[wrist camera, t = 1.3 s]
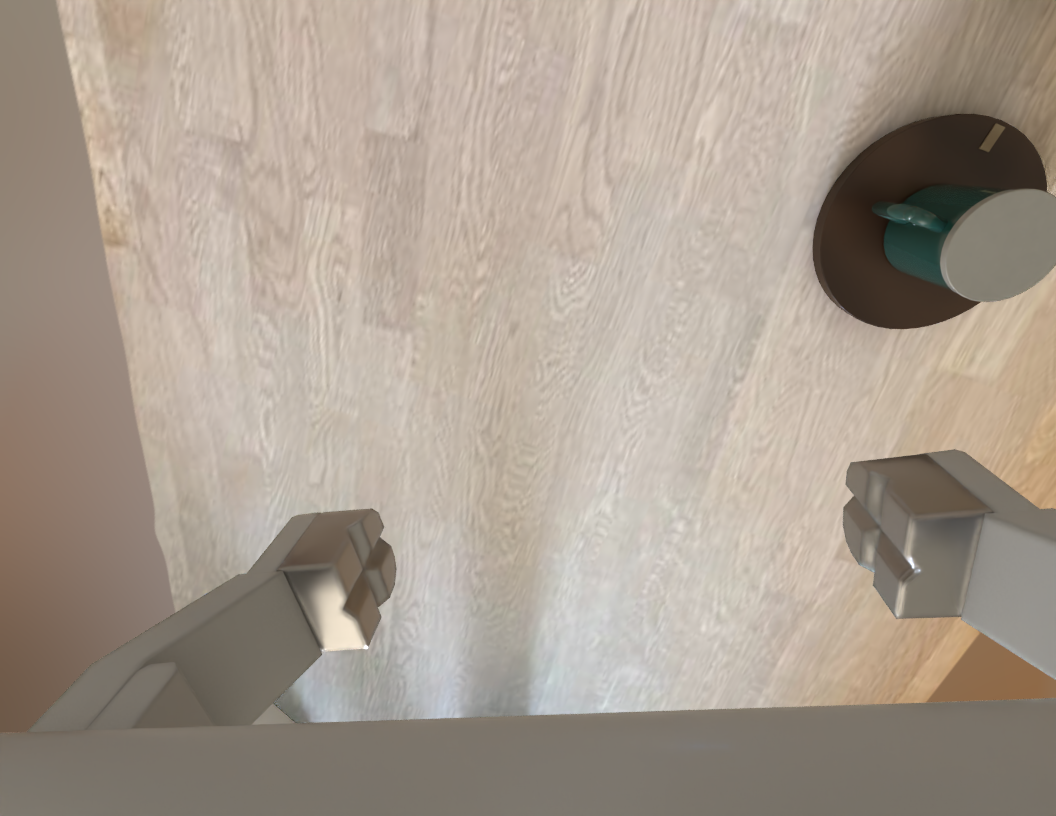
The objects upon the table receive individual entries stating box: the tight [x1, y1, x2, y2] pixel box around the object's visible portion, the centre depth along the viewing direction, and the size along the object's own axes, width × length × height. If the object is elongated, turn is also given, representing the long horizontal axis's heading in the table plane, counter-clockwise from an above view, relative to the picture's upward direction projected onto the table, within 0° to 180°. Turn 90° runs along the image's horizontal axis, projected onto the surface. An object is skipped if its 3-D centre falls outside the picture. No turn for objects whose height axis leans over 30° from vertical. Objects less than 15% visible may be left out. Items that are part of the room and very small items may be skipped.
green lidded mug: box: [872, 184, 1056, 302], centre depth 35 cm, size 7×9×8 cm
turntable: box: [813, 114, 1047, 329], centre depth 39 cm, size 15×15×2 cm
